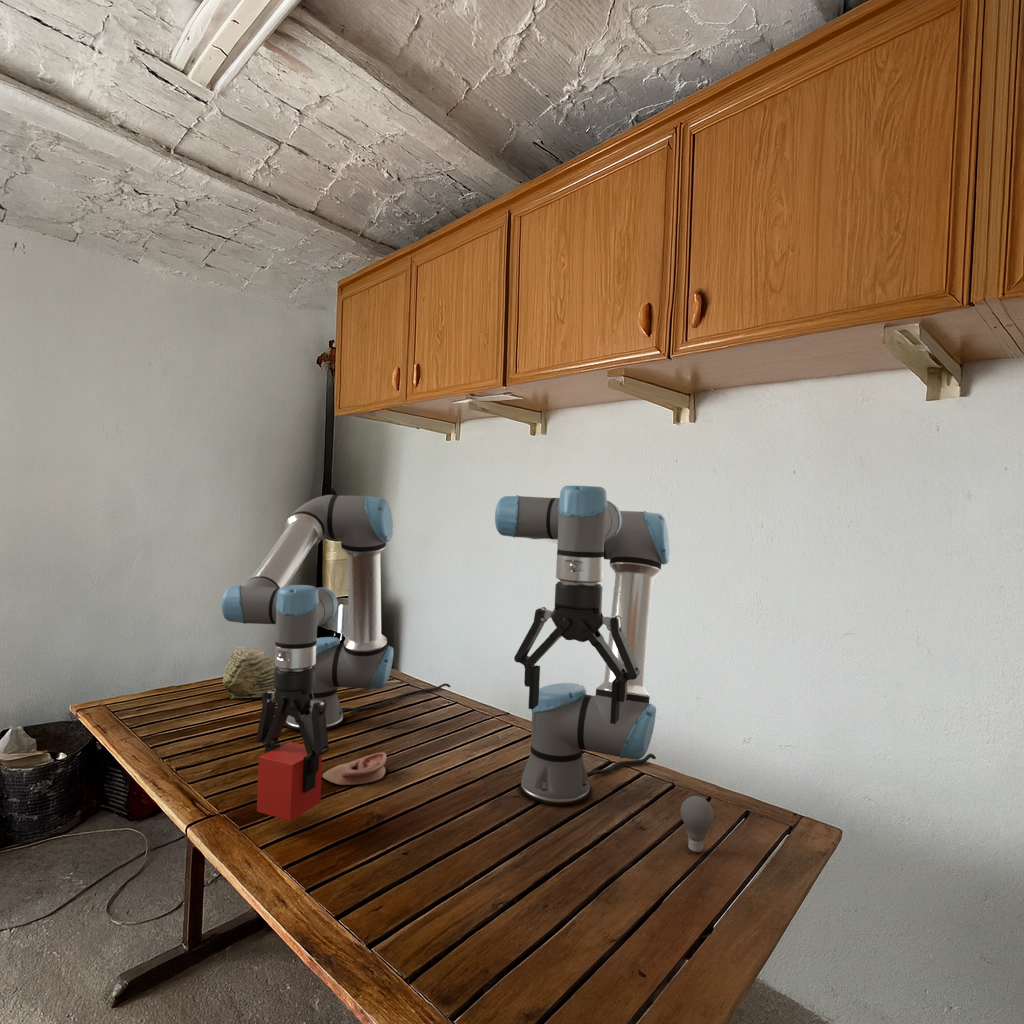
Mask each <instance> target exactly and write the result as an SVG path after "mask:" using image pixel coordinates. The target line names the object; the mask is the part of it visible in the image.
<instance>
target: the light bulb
mask: <svg viewBox="0 0 1024 1024" xmlns="http://www.w3.org/2000/svg"><path fill="white" fill-rule="evenodd" d="M680 817H681V820H682V822H683V824H684V826H685V829H686V834H687V836H688V837H687V838H688V845H687V847H688V849H689V850H690V851H692V852H695V853H699V852H702V851H703V848H704V847H703V846H704V839H705V838H706V833H707V831H708V830H709V829H710V828H711V826H712V824H713V822H714V818H715V813H714V809H713V807H712V805H711V804H710V802H709V801H708V800H707V799H705V797H702V796H699V795H692V796H689V797H687V798H686V799H685V800H684V801H683V802H682V803H681V805H680Z"/></svg>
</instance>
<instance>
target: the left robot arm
mask: <svg viewBox="0 0 1024 1024" xmlns="http://www.w3.org/2000/svg"><path fill="white" fill-rule="evenodd" d="M393 528H394V522H393V514H392V510H391V507H390V505H389V502H388V501H387V500H386V499H385V498H383V497H378V496H370V495H342V494H341V495H339V494H338V495H337V494H325V495H321V496H318V497H315V498H312V499H311V500H309V501H307V502H305V503H303V504H301V505H300V506H299V507H298V508H296V509H295V510H294V511H293V512H292V513H291V514H290V516H289V517H288V518H287V520H286V521H285V524H284V531H283V532H282V533H281V535H280V537H279V538H278V539H277V540H276V542H275V544H274V545H273V546H272V548H271V549H270V551H269V552H268V553H267V554H266V556H265V557H264V559H263V560H262V562H261V563H260V564H259V566H258V567H257V569H256V570H255V571H254V573H253V574H252V576H250V579H248V580H247V582H246V583H245V585H241V584H239V585H232V586H229V587H228V588H227V589H226V590H225V591H224V593H223V595H222V599H221V613H222V616H223V618H224V619H225V620H226V621H228V622H231V623H241V624H245V625H246V624H255V625H275V643H274V663H275V666H276V669H275V670H274V688H275V689H276V690H275V691H274V690H271V691H268V692H265V693H263V694H262V697H261V702H262V706H261V711H260V716H259V717H260V718H259V723H258V727H257V732H256V733H257V734H256V739H255V740H256V742H257V743H261V744H263V747H264V754H265V753H267V752H270V751H272V750H274V749H276V748H278V747H280V746H281V744H279V742H280V740H279V738H280V736H281V733H282V731H283V730H284V727H285V726H286V728H287V729H289V730H291V731H294V732H295V731H296V732H299V733H300V735H301V738H302V741H303V745H305V749H306V752H307V756H306V757H304V764H303V789H302V792H305V793H306V792H308V791H309V790H311V789H313V788H314V787H315V779H316V772H318V770H319V756H321V755H322V756H323V755H325V754H327V753H328V752H329V750H330V748H329V747H330V746H329V737H328V731H329V730H332V729H335V728H337V727H339V726H340V725H342V723H343V722H344V714H343V712H345V711H349V712H358V711H366V710H370V709H375V708H379V707H382V706H385V705H388V704H390V703H391V702H393V701H395V700H398V699H400V698H403V697H406V696H410V695H413V694H419V693H424V692H432V691H437V690H439V689H441V688H444V687H447V688H451V687H452V686H451V685H450V684H449V683H446V682H445V683H441V684H440V685H438V686H436V687H431V688H424V689H417V690H412V691H408V692H405V693H402V694H399V695H395V696H393V697H391V698H390V699H388V700H385V701H383V702H380V703H376V704H373V705H367V706H362V707H342V706H341V702H340V699H339V695H338V688H348V689H367V690H371V689H373V690H374V689H375V690H377V689H379V690H380V689H383V688H384V687H385V686H386V685H387V684H388V681H389V678H390V675H391V671H392V666H393V661H394V653H395V652H394V647H393V646H390V645H388V639H387V637H386V636H385V635H384V634H382V581H381V580H382V579H381V578H382V577H381V572H382V571H381V569H382V568H381V553H382V551H384V550H385V549H386V547H387V543H388V542H391V540H392V538H393ZM323 540H339V541H340V549H341V550H342V551H343V552H345V553H346V556H347V559H346V560H347V594H348V595H347V596H348V597H347V598H348V636H347V637H346V638H345V639H344V641H343V643H341V641H340V638H338V637H334V636H324V637H318V627H320V626H322V625H325V624H327V623H328V622H329V621H330V620H331V619H332V618H333V617H334V616H335V615H336V613H337V611H338V606H339V604H338V603H339V602H338V599H337V596H336V594H335V593H334V592H333V591H332V590H331V589H329V588H326V587H323V586H321V587H316V586H314V585H308V584H290V583H291V581H292V579H293V578H294V576H295V575H296V573H297V572H298V570H299V568H300V567H301V565H302V563H303V562H304V560H305V559H306V558H307V556H308V554H309V552H310V551H311V549H312V548H313V547H315V546H317V545H319V544H320V542H321V541H323ZM313 748H314V749H313Z"/></svg>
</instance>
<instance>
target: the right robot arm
mask: <svg viewBox="0 0 1024 1024" xmlns="http://www.w3.org/2000/svg"><path fill="white" fill-rule="evenodd" d="M494 512H495V513H494V525H495V528H496V531H497V532H498V533H499V535H500V536H504V537H509V538H514V539H515V538H523V539H524V538H525V539H530V540H537V541H542V542H547V543H551V544H555V545H557V546H556V548H557V549H556V566H555V567H556V568H555V569H556V570H555V578H556V579H557V580H558V581H557V582H556V583H555V585H554V586H555V587H554V608H553V610H551V609H547V608H546V607H545V606H542V607H539V608H537V609H535V611H534V617H533V622H532V624H531V626H530V627H529V629H528V631H527V633H526V634H525V637H524V639H523V641H521V644H520V646H519V648H518V649H517V651H516V653H515V655H514V657H513V659H514V662H515V663H518V664H521V665H522V666H523V667H524V679H523V681H524V686H525V687H527V688H529V689H528V707H527V708H528V709H529V710H531V729H530V730H531V733H530V737H531V738H530V753H529V757H528V759H527V762H526V765H525V766H524V769H523V773H522V775H521V779H520V791H521V792H522V794H524V796H525V797H527V798H528V799H530V800H532V801H535V802H536V803H540V804H544V805H551V806H571V805H575V804H579V803H581V802H583V801H585V800H586V799H587V798H588V797H589V794H590V781H589V777H591V776H598V775H604V774H607V773H610V772H612V771H614V770H616V769H617V768H618V767H621V766H632V765H633V766H634V765H635V766H636V765H641V764H645V763H646V762H647V761H649V759H652V760H656V759H657V757H656V755H655V754H653V753H648V754H647V752H648V749H649V748H650V744H651V740H652V737H653V732H654V729H655V723H656V714H657V707H656V705H654V704H653V703H650V697H651V696H650V694H649V693H648V691H647V690H646V688H645V686H644V685H645V684H644V683H645V672H646V662H647V651H648V639H649V628H650V620H651V619H650V618H651V609H652V608H651V607H652V596H653V587H654V586H653V585H654V579H655V578H656V577H657V576H658V575H659V574H661V572H662V565H663V566H665V565H668V564H669V562H670V539H669V530H668V523H667V520H666V518H665V516H664V515H663V514H661V513H658V512H649V511H645V510H643V511H635V510H633V511H632V510H620V509H619V507H617V505H616V504H614V503H613V502H611V501H610V500H608V499H607V490H606V489H605V488H604V487H603V486H593V485H565V486H563V487H562V488H561V490H560V493H559V497H541V496H524V495H523V496H522V495H518V494H517V495H504V496H502V497H500V498H499V500H498V502H497V504H496V506H495V511H494ZM605 560H609V569H610V570H611V571H612V572H613V574H614V583H613V591H612V602H611V610H610V611H611V612H610V616H604V615H603V611H602V608H603V606H602V605H603V590H604V589H603V586H602V584H600V583H601V582H602V581H604V563H605ZM550 619H551V621H552V622H553V624H554V626H555V628H554V629H553V631H552V632H551V633H550V634H549V635H548V637H547V638H546V639H545V640H544V641H543V642H542V643H541V644H540V645H538V647H537V648H536V650H534V651H533V653H531V655H530V656H529V653H530V651H531V649H532V647H533V645H534V644H535V642H536V640H537V638H538V636H539V635H540V633H541V631H542V629H543V628H544V625H545V624H546V623H547V622H549V620H550ZM603 625H605V627H606V629H607V630H608V640H607V641H606V640H605V638H604V636H603V634H602V633H601V632H600V628H601V627H602V626H603ZM561 638H563V639H565V641H576V642H579V643H585V642H589V643H590V645H591V646H592V647H593V648H594V649H595V650H596V651H597V653H598V654H599V655H600V657H601V658H602V660H603V661H604V663H605V668H604V676H603V677H604V678H603V681H602V682H601V683H600V684H598V685H597V686H596V687H595V695H591V694H587V689H586V687H585V686H584V685H582V684H580V683H579V684H578V683H573V682H557V683H551V684H547V685H543V686H542V687H540V680H541V665H538V664H537V663H538V661H540V659H541V658H542V657H543V656H544V655H545V654H546V653H548V651H549V650H550V649H551V648H552V647H553V646H554V645H555V644H556V643H557V642H558V641H559V640H560V639H561ZM536 664H537V665H536ZM584 751H587V752H592V753H597V754H603V755H606V756H607V755H608V756H613V757H618V758H619V759H631V760H621V761H618V762H614V763H613V764H612V765H610V766H608V767H606V768H602V769H596V770H591V771H587V770H586V766H585V761H584V758H583V755H584V754H583V752H584ZM646 754H647V755H646Z"/></svg>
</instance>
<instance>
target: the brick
mask: <svg viewBox="0 0 1024 1024" xmlns="http://www.w3.org/2000/svg"><path fill="white" fill-rule="evenodd" d="M313 749H314V748H313ZM306 756H307V752H306V749H305V745H304V744H302V743H301V744H300V743H297V742H292V741H288V742H286V743H284V744H283V745H280V747H278V748H276V749H274V750H272V751H270V752H267V753H265V752H264V753H263V754H261V755H259V756H258V767H257V769H258V771H257V774H258V775H257V792H256V793H257V796H256V797H257V798H256V812H257V813H261V814H263V815H267V816H271V817H274V818H278V819H281V820H284V821H287V822H292V821H294V820H295V819H297V818H299V816H301V815H303V814H305V813H306V812H308V811H309V810H311V809H312V808H314V807H316V806H317V805H319V804H321V802H322V801H321V799H322V798H321V797H322V775H323V755H321V756H319V770H318V772H316V779H315V787H314V788H313V789H311V790H309V791H308V792H306V793H305V792H302V789H303V764H304V757H306Z"/></svg>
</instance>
